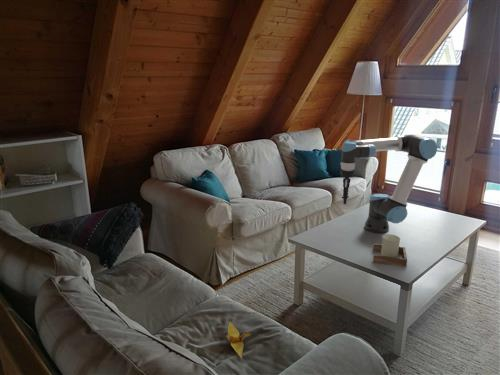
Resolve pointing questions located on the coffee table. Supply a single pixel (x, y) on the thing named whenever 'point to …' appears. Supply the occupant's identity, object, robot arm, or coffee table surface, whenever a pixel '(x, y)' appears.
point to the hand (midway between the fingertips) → (344, 208)
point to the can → (390, 245)
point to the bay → (390, 259)
